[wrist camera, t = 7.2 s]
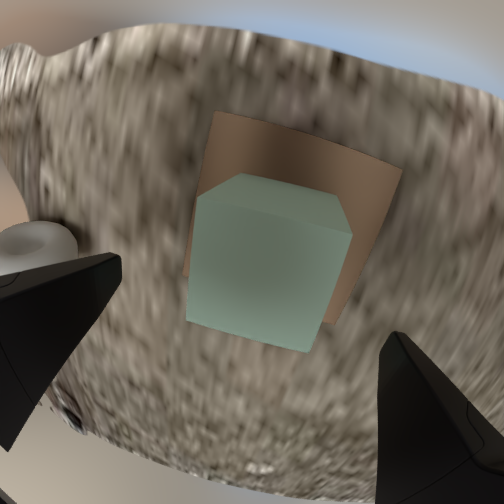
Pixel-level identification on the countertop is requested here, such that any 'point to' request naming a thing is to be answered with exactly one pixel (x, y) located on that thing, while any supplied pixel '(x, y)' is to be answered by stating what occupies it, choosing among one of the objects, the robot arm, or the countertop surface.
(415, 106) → the countertop surface
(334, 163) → the walnut base
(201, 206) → the sage block
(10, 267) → the donut
